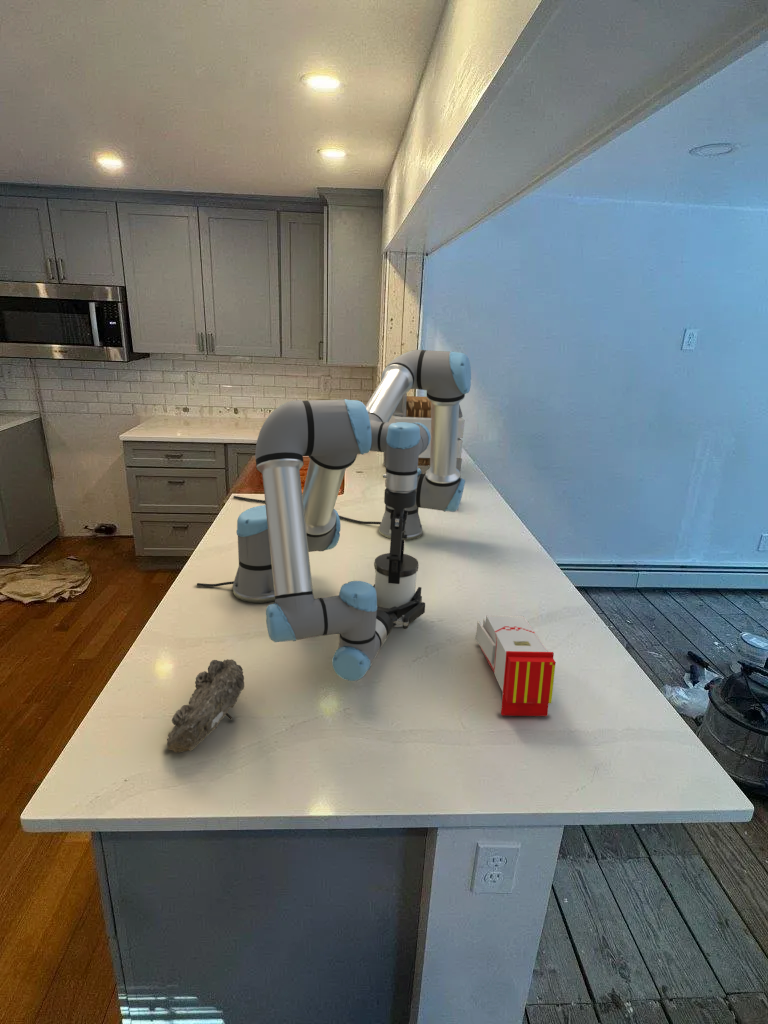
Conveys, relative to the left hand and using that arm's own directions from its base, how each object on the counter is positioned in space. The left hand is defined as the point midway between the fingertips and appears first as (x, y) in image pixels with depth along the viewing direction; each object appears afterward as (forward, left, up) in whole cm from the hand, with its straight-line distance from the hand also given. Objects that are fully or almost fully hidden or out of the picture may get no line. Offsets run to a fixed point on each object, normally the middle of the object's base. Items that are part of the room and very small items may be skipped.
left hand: (399, 588), depth 148 cm
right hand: (0, -4, +6) cm, 8 cm away
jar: (0, -4, -6) cm, 7 cm away
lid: (0, -4, +9) cm, 10 cm away
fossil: (-21, -53, -6) cm, 57 cm away
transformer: (-27, +131, -6) cm, 134 cm away
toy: (+31, -19, -6) cm, 37 cm away
